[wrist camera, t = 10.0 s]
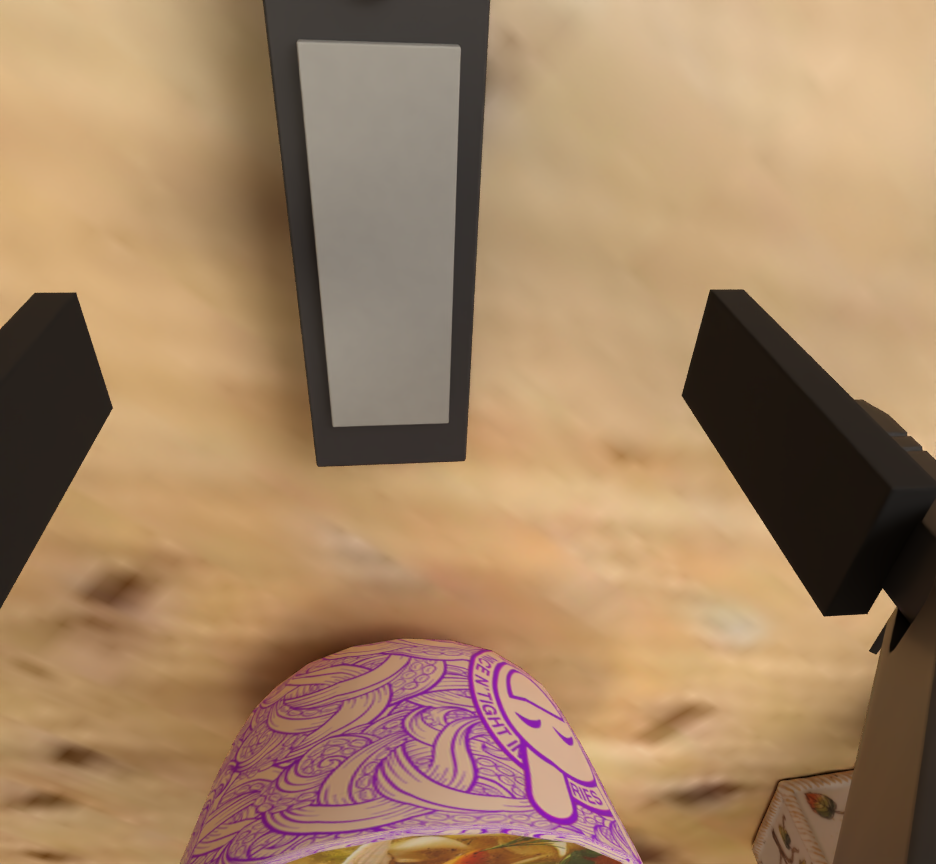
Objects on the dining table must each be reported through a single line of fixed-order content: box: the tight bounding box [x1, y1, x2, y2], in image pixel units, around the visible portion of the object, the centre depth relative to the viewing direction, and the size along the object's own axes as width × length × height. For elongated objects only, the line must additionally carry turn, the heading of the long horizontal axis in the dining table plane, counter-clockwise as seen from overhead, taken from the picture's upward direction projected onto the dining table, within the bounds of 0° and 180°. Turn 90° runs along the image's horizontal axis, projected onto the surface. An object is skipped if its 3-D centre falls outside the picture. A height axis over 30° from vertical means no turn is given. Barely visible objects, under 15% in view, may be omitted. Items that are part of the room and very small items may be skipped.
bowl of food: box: [180, 639, 643, 864], centre depth 32 cm, size 20×20×12 cm
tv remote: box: [263, 0, 490, 467], centre depth 20 cm, size 17×5×3 cm, turn 178°
